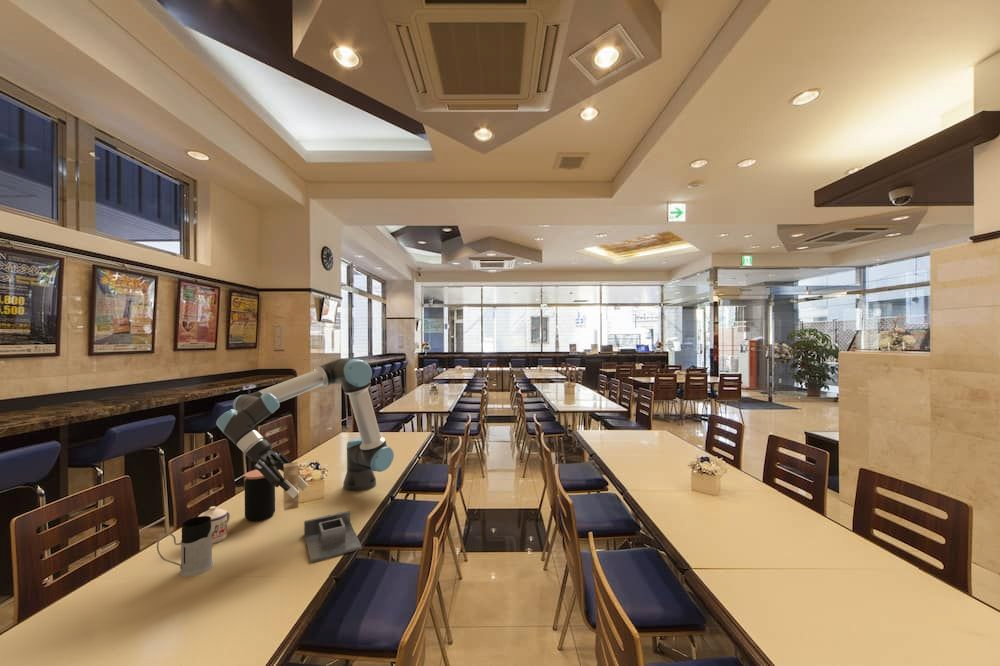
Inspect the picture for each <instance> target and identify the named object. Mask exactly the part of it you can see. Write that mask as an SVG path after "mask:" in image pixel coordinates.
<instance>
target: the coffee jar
mask: <svg viewBox="0 0 1000 666" xmlns="http://www.w3.org/2000/svg"><path fill="white" fill-rule="evenodd" d="M244 478H245V480H244V518H245V519H246V521H247V522H251V523H255V522H262V521H265V520H269V519H270V518H272V517H273V516H274V514H275V513H276V487H275V486H273V485H272V484H271V483H270V482H269V481H268V480H267V479H266V478H265V477H264V476H263V475H262V474H261V473H260V471H258V470H257V469H253V470H250V471H248V472H245V474H244ZM274 482H275V481H274Z"/></svg>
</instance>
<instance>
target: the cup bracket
mask: <svg viewBox="0 0 1000 666" xmlns="http://www.w3.org/2000/svg"><path fill="white" fill-rule="evenodd" d="M303 524H304V525H303V531H304V532H303V534H304V539H305V543H306V547H307V552H308V557H309V562H310V563H311V564H312V563H315V562H319V561H323V560H327V559H332V558H334V557H337V556H341V555H345V554H349V553H352V552H356V551H359V550H363V545H362V544H361V541H360V539H359V538H358V535H357V534H356V532H355V530H354V527H353V525H352V523H351V511H350V510H347V511H343V512H338V513H333V514H330V515H329V514H328V515H325V516H320V517H317V518H311V519H307V520H304V521H303Z"/></svg>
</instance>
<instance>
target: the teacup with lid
mask: <svg viewBox="0 0 1000 666" xmlns="http://www.w3.org/2000/svg"><path fill="white" fill-rule="evenodd" d="M200 516H209V517H211V524H212V545H213V544H216V543H219V542H222V541H223V540H224V539H225V538H227V536H228V523H229V521H230V512H229V511H227V509H225V508H217V506H215V505H214V506H210V507H209V508H208V510H206V511H204V512H202V513H200V514H199V515H198V516H197V517H200Z"/></svg>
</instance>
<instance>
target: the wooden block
mask: <svg viewBox="0 0 1000 666" xmlns="http://www.w3.org/2000/svg"><path fill="white" fill-rule="evenodd" d="M282 472H283V478H284V481H285V480H286V479H287V480H288V481H289V482H290V483H291V484H292V485H293V486H294V487H295V488H296V489H297V490H298V491H299V487H298V475H299V463H298V461H296V462H292V463H287V464H283V471H282ZM293 509H295V510H296V509H299V494H298V495H297V496H296V497H295V498H292V497H291V496H290V495H289V494H288V493H287V492H286V491H285V490H284V489H283V511H289V510H293Z"/></svg>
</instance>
